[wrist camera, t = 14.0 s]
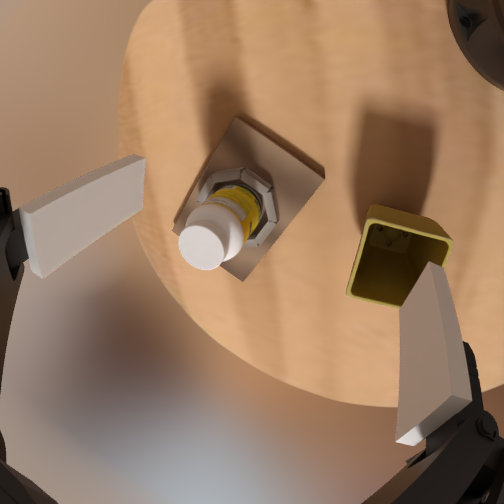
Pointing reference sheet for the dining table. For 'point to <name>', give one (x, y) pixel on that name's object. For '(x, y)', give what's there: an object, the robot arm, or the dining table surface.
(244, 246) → the collar base
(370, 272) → the flower pot
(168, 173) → the dining table surface
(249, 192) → the pill bottle
